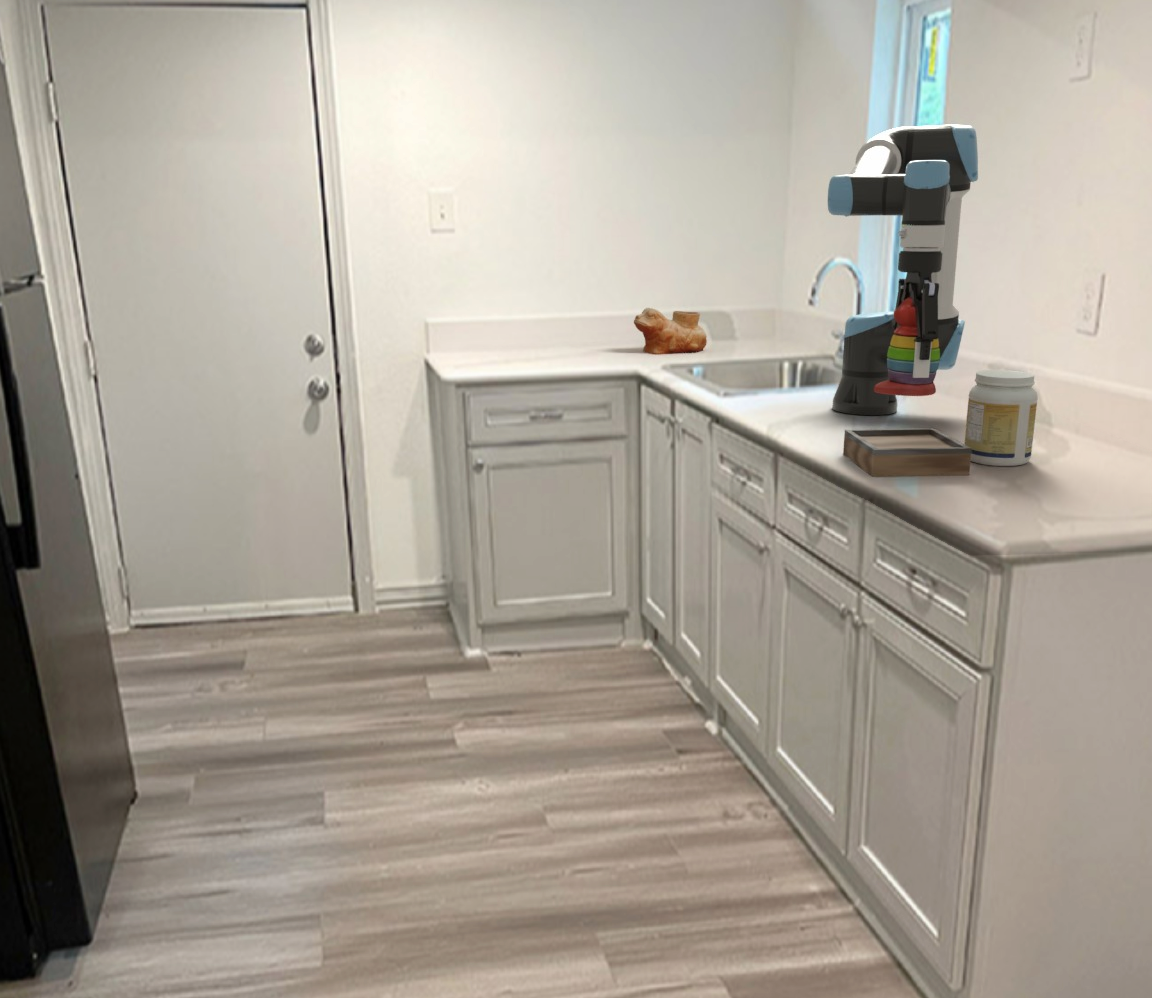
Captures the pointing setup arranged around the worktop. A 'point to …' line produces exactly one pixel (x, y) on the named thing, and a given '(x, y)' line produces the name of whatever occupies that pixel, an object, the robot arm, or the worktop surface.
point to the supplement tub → (1001, 417)
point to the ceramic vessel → (671, 332)
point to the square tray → (906, 452)
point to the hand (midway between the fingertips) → (910, 373)
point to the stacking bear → (907, 358)
